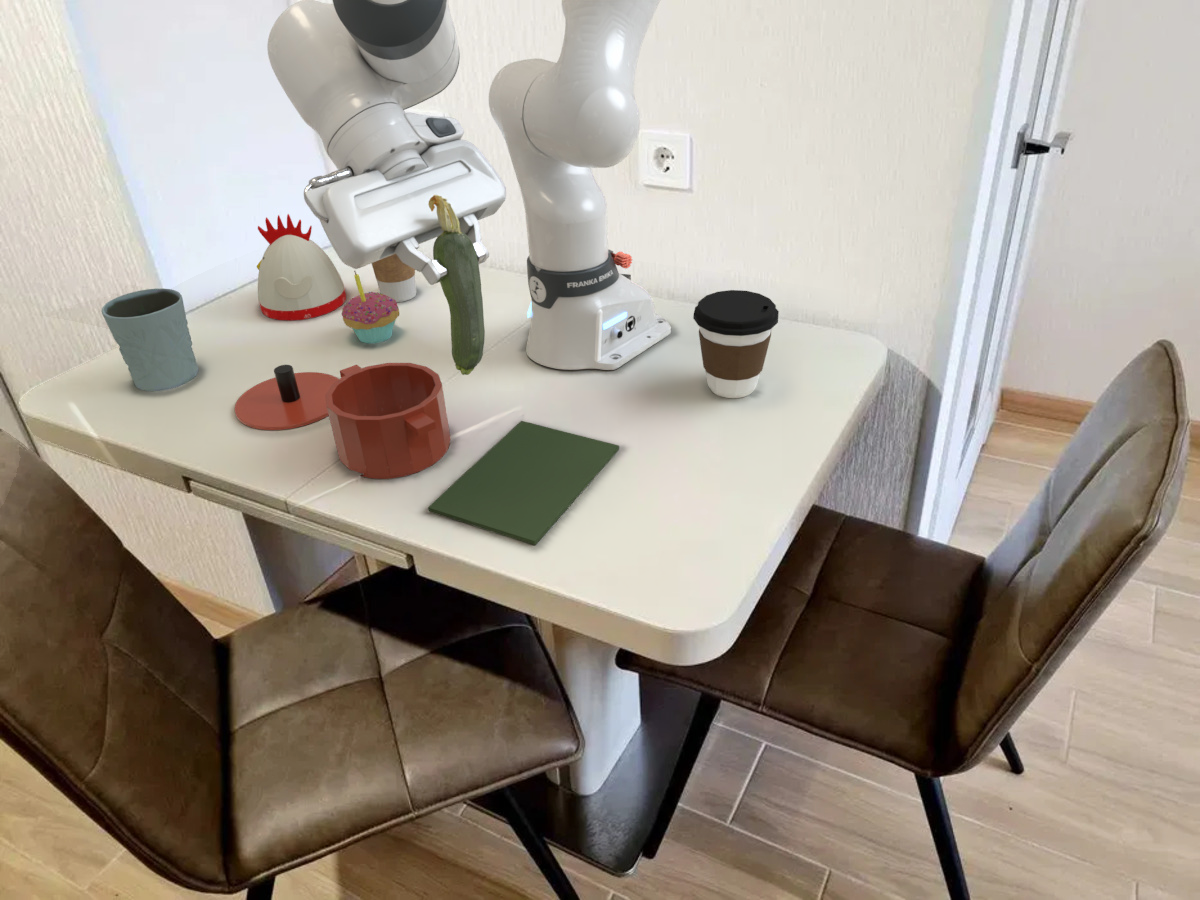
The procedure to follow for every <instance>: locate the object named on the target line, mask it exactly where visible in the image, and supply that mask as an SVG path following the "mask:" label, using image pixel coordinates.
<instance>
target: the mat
mask: <svg viewBox="0 0 1200 900" xmlns="http://www.w3.org/2000/svg"><path fill="white" fill-rule="evenodd" d="M618 451H620V445H618V444H615V443H610V442H607V441H603V440H599V439H595V438H592V437H587V436H583V435H578V434H576V433H571V432H567V431H563V430H559V429H556V428H551V427H549V426H543V425H540V424H536V423H532V422H528V421H524V420H520V421H519V422H518V423H517V424H516V425H515V426H514V427H513V428H512V429H511V430H510V431H509V432H507V433H506V434H505V435H504V436H503V437H502V438H501V439H500V440H499V441H498V442H497V443H496V444H495V445H493V447H492V448H490V449H489V450H488V451H487V452H486V453H484V455H483V456H482V457H481V458H480V459H478V460H477V461H476V462H475V463H474V464H473V465H472V466H471V467H470V468H469V469H468V470H467V471H465V472H464V473H463V474H462V475H461V476H459V478H458V479H457V480H456V481H454V482H453V483H452V485H450V486H449V487H448V488H447V489H446V490H445V491H444V492H443V493H442V494H441V495H439V496H438V497H437V499H435V500H434V501H433V502H432V503H431V504H430V505H428V507H427V511H428V512H429V513H433V514H435V515H438V516H442V517H445V518H448V519H452V520H454V521H458V522H461V523H464V524H467V525H470V526H474V527H477V528H480V529H483V530H486V531H489V532H492V533H495V534H499V535H502V536H505V537H508V538H511V539H513V540H517V541H519V542H523V543H527V544H529V545H532V546H536V545H537V544H538V543H539V542H540V541H541V540H542V539H543V538H544V536H546V534H547V533H548V532H549V530H550V529H551V528H552V527H553V526H554V525H555V524H556V522H558V520H559V519H560V518H561V516H563V514H565V512H566V511H567V510H568V508H569V507H570V506H571V505H572V504H573V503H574V502H575V501H576V499H578V497H579V496H580V495H581V494H582V493H583V491H584V490H585V489H586V488H587V487H588V486H589V484H591V482H592V481H593V480H594V479H595V478H596V477H597V475H598V474H599V473H600V472H601V471H602V469H604V467H605V466H606V465H607V464H608V463H609V461H610V460H611V459H612V458H613V457H614V456H615V455H616V453H617V452H618Z"/></svg>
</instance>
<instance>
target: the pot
mask: <svg viewBox="0 0 1200 900" xmlns="http://www.w3.org/2000/svg"><path fill="white" fill-rule="evenodd" d="M339 374H340V378H338V379H339V380H337V381H336V382H334V383H333V384H332V385H331V387H330V388H329V390H328V391H327V393H326V394H325V399H326V406H327V410H328V415H329V416H328V418H329V422H330V427H331V431H332V435H333V438H334V443H335V447H336V450H337V455H338V460H339V462H341V463H342V464H343V465H344V466H345V467H346V468H347V469H348V470H349V471H353V472H356V473H359V474H361V475H359V476H360V477H362V478H366V479H375V480H389V479H399V478H403V477H407V476H411V475H414V474H418V473H419V472H422V471H425V470H426V469H428V468H430V467H432V466H433V465H435V464H436V463H437V462H439V461H440V460H441V459H442V458H443V457H444V456H445V455H446V454H447V452H448V450H449V448H450V444H451V438H452V437H451V432H450V425H449V420H448V413H447V407H446V401H445V400H446V399H445V395H444V389H443V384H442V381H441V378H440V375H439V373H438V372H436V371H434V370H432V369H431V368H430V367H428V366H426V365H422V364H417V363H412V362H385V363H384V362H383V363H380V364H373V365H367V366H364V367H361V366H359V364H354V365H352V366H348V367H346V368H342V369H340V370H339Z"/></svg>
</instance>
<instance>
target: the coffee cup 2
mask: <svg viewBox="0 0 1200 900" xmlns="http://www.w3.org/2000/svg"><path fill="white" fill-rule="evenodd" d="M779 312H780V311H779V310H778V309H777V307H776V304H775V303H774V302H773V300H772V299H771V298H770V297H767V296H766V295H763V294H761V293H758V292H753V291H749V290H739V289H737V290H736V289H735V290H734V289H730V290H720V291H715V292H713V293H710V294H707V295H705V296H704V297H702V298H701V299H700V300H698V302H697V305H696V306H695V307H694V311H693V317H692V318H693V320H694V322H695V323H696V324H697V326H698V327H699V328H698V336H699V344H700V351H701V360H702V366H703V369H704V372H705V378H706V384H707V385H708V387H709V389H710V391H711V392H712V393H713V394H715V395H716V396H718V397H721V398H727V399H739V398H745V397H747V396H749V395H751V394H752V393H753V392H754V391H755V389H756V388H757V386H758V383H759V379H760V375H761V373H762V371H763V369H764V366H765V365H764V364H765V361H766V357H767V353H768V349H769V347H770V346H769V345H770V342H771V338H772V329H773V328H774V327H775V326H776V325H777V324H778V323H779Z"/></svg>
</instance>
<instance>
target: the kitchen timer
mask: <svg viewBox="0 0 1200 900" xmlns="http://www.w3.org/2000/svg"><path fill="white" fill-rule="evenodd" d="M276 218H277V221H276V222H277V223H276V224H277V226H276V227H277V228H274V226H273V225H272V223H271V220H269V218H268V217H265V221H264V222H265V226H266V230H265V229H263V228H262V227H261V226H260V225H257V230H258V232H259V233H260V235H261V236H262V237H263V239H264V240H265V241H266V242H267V243H268V244H269V245H268V246H267V247H266V249H265V251H264V253H263V255H262V257H261V260H260V261H259V262H258V263H257V265H256V269H257V270H258V275H257V299H258V304H259V309H260V311H261V312H262V314H263V315H264V316H265V317H268V318H269V319H273V320H276V321H291V322H292V321H303V320H308V319H313V318H317V317H321V316H323V315H327V314H329V313H332V312H333V311H336V310H337V309H339V308H340V307H341V306H343V305H344V303H345V302H346V300H347V293H346V287H345V284H344V281H343V279H342V276H341V275H340V273H339V271H338V269H337V268H336V265H335V264H334V263H333V261H332V259H331V258H330V256H329V255H328V254H327V253H326V252H325V251H324V249H322V247H321V246H320V245H318V244H317V243H316V242H315V241H314V240H313V239H310V238H311V235H312V228H313V227H312V225H310V226H309V228H308V229H307V232H306V233H303V232H302V220H301V219H298V222H297V224H296V227H295V225H294V223H293V221H292V218H291V215H290V214H289V213H287V215H286V227H285V226H284V223H283V221H282V218H281V217H280V214H278V215H277V217H276Z"/></svg>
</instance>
